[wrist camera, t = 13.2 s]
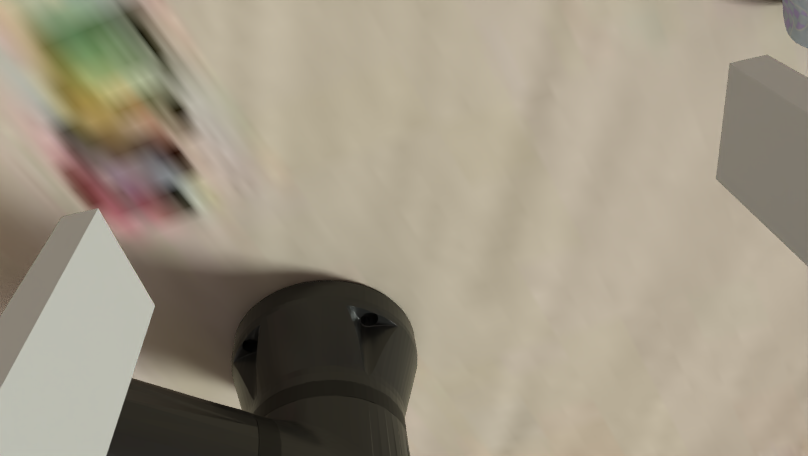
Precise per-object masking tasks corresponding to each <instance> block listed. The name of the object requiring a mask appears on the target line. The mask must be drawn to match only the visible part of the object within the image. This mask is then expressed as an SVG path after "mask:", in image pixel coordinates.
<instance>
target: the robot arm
mask: <svg viewBox="0 0 808 456" xmlns="http://www.w3.org/2000/svg"><path fill="white" fill-rule="evenodd" d="M716 179H717V180H718V181H719V182H720V183H721V184H722V185H723V186H724V187H725V188H726V189H727V190H728V191H729V192H730V193H731V194H732V195H734V196H735V197H736V198H737V199H738V200H739V201H740V202H741V203H742V204H743V205H744V206H745V207H746V208H747V209H748V210H749V211H750V212H751V213H752V214H753V215H755V216H756V217H757V218H758V219H759V220H760V221H761V222H762V223H763V224H764V225H765V226H766V227H767V228H768V229H769V230H770V231H771V232H772V233H773V234H774V235H776V236H777V237H778V238H779V239H780V240H781V241H782V242H783V243H784V244H785V245H786V246H787V247H788V248H789V249H790V250H791V251H792V252H793V253H794V254H796V255H797V256H798V257H799V258H800V259H801V260H802V261H803V262H804V263H805V264H806V265H807V266H808V77H806V76H804V75H802V74H801V73H799V72H797V71H795V70H793V69H792V68H790V67H788V66H786V65H785V64H783V63H781V62H779V61H778V60H776V59H774V58H772V57H770V56H769V55H764V56H759V57H755V58H751V59H746V60H742V61H738V62H733V63H730V65H729V73H728V82H727V90H726V99H725V107H724V115H723V124H722V132H721V141H720V149H719V158H718V166H717V175H716ZM154 308H155V305H154V303H153V301H152V299H151V298H150V296H149V294H148V293H147V291H146V289H145V287H144V286H143V284H142V282H141V281H140V279H139V277H138V276H137V274H136V272H135V270H134V269H133V267H132V265H131V264H130V262H129V260H128V258H127V257H126V255H125V253H124V252H123V250H122V248H121V247H120V245H119V243H118V241H117V240H116V238H115V236H114V235H113V233H112V231H111V229H110V228H109V226H108V224H107V223H106V221H105V219H104V217H103V216H102V214H101V212H100V211H99V209H98V208H97V209H93V210H89V211H84V212H80V213H76V214H71V215H67V216H63V217H62V218H61V219H60V221H59V222H58V224H57V226H56V227H55V229H54V230H53V232H52V234H51V235H50V237H49V239H48V240H47V242H46V243H45V245H44V247H43V248H42V250H41V251H40V253H39V255H38V256H37V258H36V259H35V261H34V263H33V264H32V266H31V268H30V269H29V271H28V272H27V274H26V276H25V277H24V279H23V280H22V282H21V284H20V285H19V287H18V289H17V290H16V292H15V293H14V295H13V297H12V298H11V300H10V301H9V303H8V305H7V306H6V308H5V310H4V311H3V313H2V314H1V316H0V456H410V452H409V446H408V439H407V432H406V425H405V415H406V411H407V407H408V402H409V398H410V394H411V390H412V386H413V382H414V378H415V374H416V369H417V349H416V343H415V338H414V332H413V329H412V326H411V323H410V321H409V319H408V318H407V316H406V314H405V313H404V312H403V311H402V309H401V308H400V307H399V306H398V305H397V304H396V303H394V302H393V301H392V300H391V299H389V298H388V297H386V296H385V295H383V294H381V293H379V292H377V291H375V290H373V289H371V288H368V287H365V286H362V285H358V284H354V283H349V282H342V281H314V282H307V283H302V284H297V285H294V286H290V287H287V288H285V289H282V290H280V291H277V292H275V293H273V294H271V295H270V296H268V297H266V298H265V299H263V300H262V301H260V302H259V303H258V304H257V305H255V306H254V307H253V308H252V309H251V310H250V311H249V312H248V313H247V315H246V316H245V317H244V319H243V320H242V322H241V324H240V325H239V327H238V330H237V332H236V336H235V340H234V347H233V353H232V362H231V364H232V376H233V380H234V384H235V387H236V391H237V394H238V398H239V402H240V405H241V409H242V410H240V409H236V408H232V407H229V406H225V405H221V404H218V403H214V402H211V401H207V400H204V399H201V398H197V397H194V396H190V395H187V394H184V393H180V392H177V391H174V390H170V389H167V388H163V387H160V386H157V385H153V384H150V383H147V382H143V381H140V380H137V379H133V378H132V375H133V372H134V369H135V366H136V363H137V360H138V357H139V354H140V351H141V348H142V345H143V341H144V338H145V335H146V332H147V329H148V326H149V323H150V320H151V317H152V314H153V311H154Z"/></svg>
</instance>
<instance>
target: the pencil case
mask: <svg viewBox="0 0 808 456" xmlns="http://www.w3.org/2000/svg"><path fill="white" fill-rule="evenodd" d="M782 3H783V16H784V22H785V27H786V30H787V32H788V34H789V36H790V37H791V38H792V39H793V40H794V41H795V42H796V43H798V44H800V45H801V46H803V47H806V48H808V0H782Z"/></svg>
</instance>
